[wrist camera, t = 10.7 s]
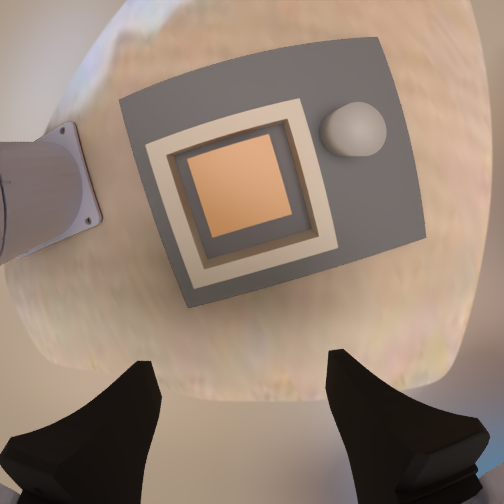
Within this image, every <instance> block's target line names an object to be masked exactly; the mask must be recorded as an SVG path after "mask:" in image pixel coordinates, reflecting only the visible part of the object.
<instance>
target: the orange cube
mask: <svg viewBox="0 0 504 504" xmlns="http://www.w3.org/2000/svg"><path fill="white" fill-rule="evenodd" d="M187 161H188V164H189V167H190V170H191V173H192V177H193V180H194V183H195V186H196V189H197V192H198V195H199V198H200V201H201V204H202V207H203V211H204V214H205V217H206V220H207V223H208V226H209V229H210V232H211V235H212V238H213V237H217V236H220V235H223V234H226V233H230V232H233V231H236V230H240V229H243V228H246V227H250V226H253V225H257V224H260V223H263V222H267V221H270V220H274V219H277V218H281V217H284V216H287V215H291V214H292V212H291V209H290V205H289V201H288V198H287V194H286V191H285V187H284V183H283V180H282V176H281V173H280V170H279V166H278V163H277V159H276V156H275V153H274V149H273V146H272V143H271V139H270V136H269V134H267V135H263V136H260V137H256V138H252V139H249V140H245V141H242V142H239V143H235V144H232V145H229V146H225V147H222V148H219V149H216V150H213V151H210V152H207V153H203V154H200V155H197V156H194V157H192V158H189V159H187Z"/></svg>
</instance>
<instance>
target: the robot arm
mask: <svg viewBox="0 0 504 504" xmlns="http://www.w3.org/2000/svg"><path fill="white" fill-rule="evenodd" d="M64 128H65V133H64V134H63V133H62V131H63V129H64ZM88 218H90V219H91V224H90V223H89V222H88ZM101 221H102V216H101V213H100V210H99V207H98V204H97V201H96V198H95V195H94V192H93V188H92V185H91V182H90V178H89V175H88V172H87V168H86V165H85V161H84V157H83V154H82V150H81V146H80V142H79V138H78V134H77V130H76V126H75V123H74V122H71V121H68V122H65V123H64V124H62V125H60V126H58V127H57V128H55V129H53V130H52V131H50V132H49V133H47V134H45V135H44V136H42V137H41V138H39V139H37V140H36V141H34V142H0V266H1V265H2V264H4V263H6V262H8V261H10V260H12V259H13V258H15V257H17V256H18V257H19V258H23V257H25V256H27V255H29V254H31V253H33V252H36V251H38V250H40V249H42V248H44V247H47V246H49V245H51V244H53V243H56V242H58V241H60V240H63V239H65V238H67V237H70V236H72V235H74V234H77V233H79V232H82V231H84V230H86V229H89V228H91V227H94V226H96V225H98V224H100V223H101ZM325 388H326V393H327V397H328V401H329V405H330V409H331V411H332V414H333V417H334V419H335V422H336V425H337V427H338V430H339V432H340V435H341V437H342V440H343V442H344V445H345V448H346V451H347V454H348V457H349V461H350V465H351V470H352V474H353V479H354V483H355V488H356V493H357V499H358V504H504V462H503V463H502V464H500V465H498V466H497V467H495V468H494V469H492V470H490V471H488V472H487V473H485V474H484V475H483V476H481V477H480V478H479V479H478V477H477V476H476V474H475V473H477V472H478V468H477V466H476V465H475V462H476V461H477V460H478V458H479V457H480V455H481V454H482V453H483V451H484V450H485V448H486V446H487V445H488V442H489V439H490V435H489V433H488V431H487V430H486V429H485V427H484V426H483V425H482V423H481V422H480V421H479V419H478V418H473V417H468V416H462V415H457V414H453V413H449V412H446V411H443V410H439V409H436V408H433V407H431V406H428V405H426V404H423V403H421V402H419V401H416V400H414V399H412V398H410V397H408V396H406V395H405V394H403V393H401V392H399V391H397V390H396V389H394V388H393V387H391V386H390V385H388V384H387V383H385V382H384V381H382V380H381V379H379V378H378V377H377V376H375V375H374V374H373V373H371V372H370V371H369V370H368V369H366V368H365V367H364V366H363V365H361V364H360V363H359V362H358V361H357V360H356V359H354V358H353V357H352V356H351V355H350V354H349V353H347V352H346V351H345V350H344V349H338V350H331V351H329V353H328V365H327V376H326V387H325ZM161 400H162V396H161V392H160V389H159V386H158V383H157V380H156V377H155V373H154V370H153V367H152V363H151V361H137V362H136V363H134V364H133V365H132V366H131V367H130V368H129V369H128V370H127V371H125V372H124V373H123V374H122V375H121V376H120V377H119V378H118V379H117V380H116V381H115V382H113V383H112V384H111V385H110V386H109V387H108V388H107V389H105V390H104V391H103V392H102V393H101V394H99V395H98V396H97V397H96V398H94V399H93V400H92V401H90V402H89V403H88V404H87V405H85V406H83V407H82V408H80V409H79V410H77V411H76V412H74V413H72V414H71V415H69V416H67V417H65V418H63V419H61V420H59V421H57V422H56V423H53V424H51V425H49V426H46V427H44V428H41V429H39V430H36V431H33V432H30V433H26V434H22V435H19V436H15V437H11V438H10V440H9V441H8V443H7V445H6V446H5V448H4V449H3V451H2V452H1V454H0V465H1V466H2V468H3V469H4V471H5V472H6V473H7V474H8V475H9V476H10V477H11V478H12V479H13V480H14V481H15V483H16V484H17V485H18V486H19V487H20V488H21V489H22V490H23V491H22V493H21V495H20V494H18V493H17V492H15V491H14V490H12V489H10V488H8V487H6V486H4V485H2V484H0V504H141V491H142V483H143V475H144V469H145V463H146V459H147V455H148V452H149V449H150V445H151V442H152V438H153V435H154V432H155V428H156V425H157V421H158V418H159V413H160V406H161Z"/></svg>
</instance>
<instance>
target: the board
mask: <svg viewBox="0 0 504 504" xmlns="http://www.w3.org/2000/svg"><path fill="white" fill-rule="evenodd" d="M119 103H120V107H121V111H122V114H123V118H124V122H125V126H126V129H127V133H128V137H129V140H130V144H131V147H132V151H133V154H134V157H135V161H136V164H137V167H138V171H139V174H140V177H141V180H142V183H143V186H144V190H145V193H146V196H147V199H148V202H149V205H150V208H151V211H152V214H153V217H154V220H155V222H156V225H157V228H158V231H159V234H160V237H161V239H162V242H163V245H164V248H165V250H166V253H167V256H168V259H169V261H170V264H171V266H172V269H173V272H174V274H175V277H176V279H177V282H178V285H179V287H180V290H181V292H182V295H183V297H184V300H185V302H186V304H187V307H188V308H191V307H195V306H199V305H203V304H207V303H211V302H214V301H218V300H222V299H226V298H229V297H233V296H237V295H240V294H244V293H248V292H251V291H255V290H258V289H262V288H266V287H269V286H273V285H276V284H280V283H283V282H287V281H290V280H294V279H297V278H300V277H304V276H307V275H311V274H314V273H317V272H321V271H324V270H327V269H331V268H334V267H337V266H340V265H344V264H347V263H350V262H353V261H356V260H360V259H363V258H366V257H369V256H372V255H375V254H379V253H382V252H385V251H388V250H391V249H394V248H397V247H400V246H403V245H406V244H409V243H412V242H415V241H418V240H421V239H424V238H426V231H425V222H424V214H423V207H422V200H421V194H420V187H419V182H418V176H417V171H416V165H415V160H414V156H413V151H412V146H411V142H410V138H409V134H408V130H407V126H406V122H405V118H404V114H403V111H402V107H401V104H400V100H399V97H398V93H397V90H396V87H395V84H394V81H393V78H392V75H391V72H390V69H389V66H388V63H387V60H386V58H385V55H384V52H383V50H382V47H381V44H380V42H379V39H378V37H366V38H352V39H341V40H331V41H323V42H315V43H308V44H302V45H295V46H290V47H284V48H279V49H274V50H269V51H264V52H260V53H255V54H251V55H247V56H243V57H239V58H235V59H231V60H227V61H224V62H220V63H217V64H213V65H210V66H206V67H203V68H200V69H197V70H194V71H191V72H188V73H185V74H182V75H179V76H176V77H173V78H171V79H168V80H165V81H163V82H160V83H157V84H155V85H152V86H150V87H147V88H145V89H142V90H140V91H138V92H135V93H133V94H131V95H128V96H126V97H124V98H122V99H119ZM267 134H269V136H270V139H271V143H272V146H273V149H274V153H275V156H276V159H277V163H278V166H279V170H280V173H281V176H282V180H283V183H284V187H285V191H286V194H287V198H288V201H289V205H290V209H291V212H292V214H291V215H287V216H284V217H281V218H277V219H274V220H270V221H267V222H263V223H260V224H257V225H253V226H250V227H246V228H243V229H240V230H236V231H233V232H230V233H226V234H223V235H220V236H217V237H213V238H212V235H211V232H210V229H209V226H208V223H207V220H206V217H205V214H204V211H203V207H202V204H201V201H200V198H199V195H198V192H197V189H196V186H195V183H194V180H193V177H192V173H191V170H190V167H189V164H188V161H187V159H189V158H192V157H194V156H197V155H200V154H203V153H207V152H210V151H213V150H216V149H219V148H222V147H225V146H229V145H232V144H235V143H239V142H242V141H245V140H249V139H252V138H256V137H260V136H263V135H267Z"/></svg>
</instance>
